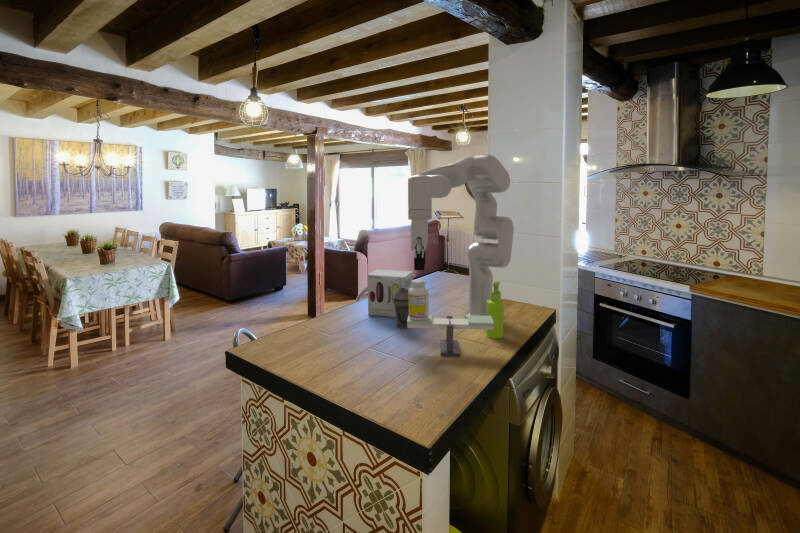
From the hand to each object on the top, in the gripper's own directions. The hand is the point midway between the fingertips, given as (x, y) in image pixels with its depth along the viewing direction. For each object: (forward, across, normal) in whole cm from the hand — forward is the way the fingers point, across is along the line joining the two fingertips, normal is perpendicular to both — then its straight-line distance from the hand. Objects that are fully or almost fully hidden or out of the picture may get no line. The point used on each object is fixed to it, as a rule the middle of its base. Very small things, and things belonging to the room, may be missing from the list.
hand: (420, 267), depth 135 cm
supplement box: (+28, -40, -15) cm, 51 cm away
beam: (+19, 0, +10) cm, 22 cm away
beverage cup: (+28, -22, -8) cm, 37 cm away
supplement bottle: (+18, 0, 0) cm, 18 cm away
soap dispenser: (+28, -14, +27) cm, 42 cm away
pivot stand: (+28, 0, +10) cm, 30 cm away
